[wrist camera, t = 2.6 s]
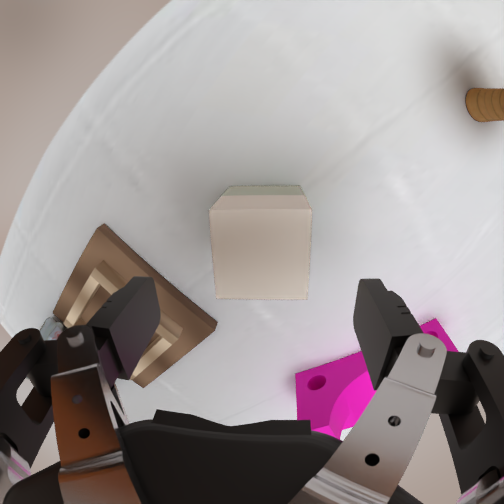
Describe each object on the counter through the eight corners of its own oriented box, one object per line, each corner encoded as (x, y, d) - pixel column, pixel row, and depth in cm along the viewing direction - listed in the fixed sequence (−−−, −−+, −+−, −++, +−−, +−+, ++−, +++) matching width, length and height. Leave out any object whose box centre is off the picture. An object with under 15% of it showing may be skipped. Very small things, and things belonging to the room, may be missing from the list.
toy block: (314, 405, 29) (318, 460, 22) (295, 372, 27) (297, 433, 20) (437, 357, 26) (463, 405, 19) (435, 317, 24) (468, 367, 17)
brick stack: (298, 251, 22) (307, 299, 16) (232, 251, 23) (216, 298, 16) (299, 185, 20) (311, 209, 14) (229, 186, 21) (208, 210, 14)
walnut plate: (146, 380, 29) (138, 397, 27) (58, 307, 27) (45, 320, 24) (217, 322, 25) (211, 341, 23) (104, 223, 22) (87, 234, 20)
